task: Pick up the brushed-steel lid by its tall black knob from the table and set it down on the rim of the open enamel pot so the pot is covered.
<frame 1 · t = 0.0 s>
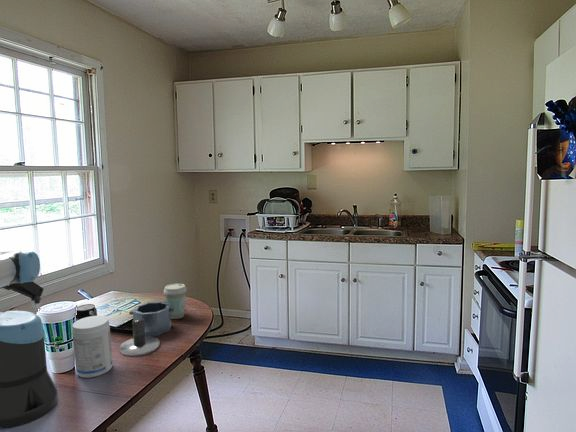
hand: (14, 310, 121), 15 cm above the table, tool tilted 35°, fingers open, 13 cm apart
supplement tub: (95, 371, 115), on the table
beverage can: (88, 342, 134), on the table
pot: (153, 329, 143), on the table
lid: (140, 347, 129), on the table
coffee cup: (176, 316, 155), on the table
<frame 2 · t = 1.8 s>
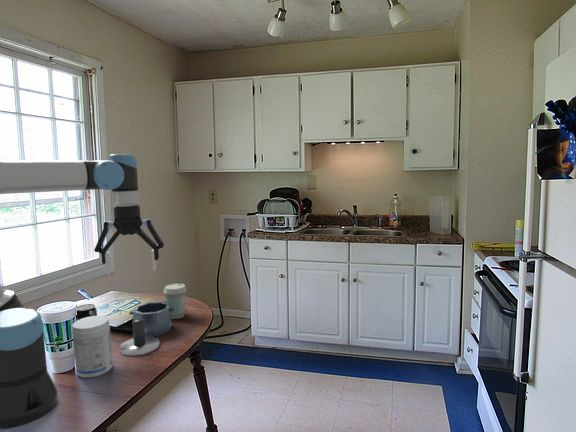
hand: (132, 271, 127), 25 cm above the table, tool pointing down, fingers open, 13 cm apart
nothing on the table moved.
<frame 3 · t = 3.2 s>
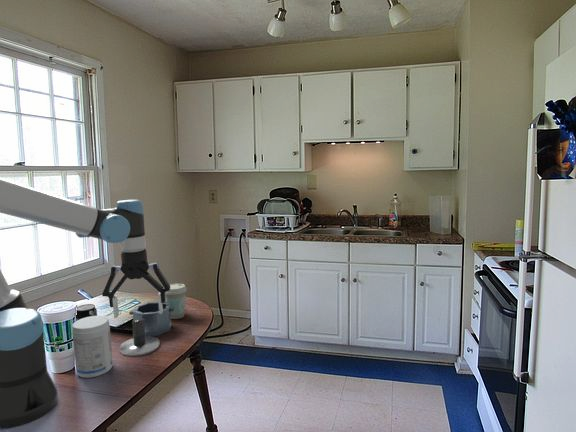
hand: (139, 314, 128), 11 cm above the table, tool pointing down, fingers open, 13 cm apart
nothing on the table moved.
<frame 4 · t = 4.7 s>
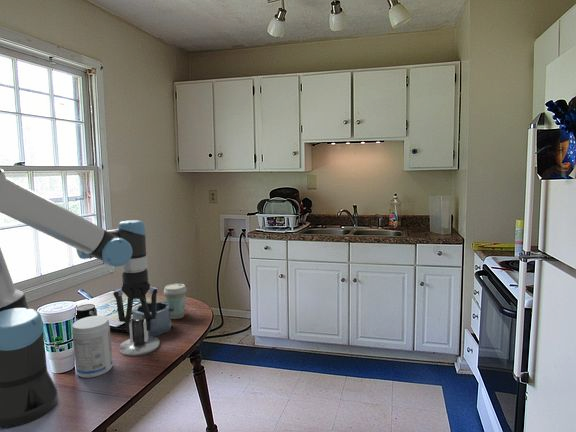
hand: (139, 340, 129), 2 cm above the table, tool pointing down, fingers closed on lid, 4 cm apart
lid: (140, 347, 129), on the table, touching gripper
everything else where it was.
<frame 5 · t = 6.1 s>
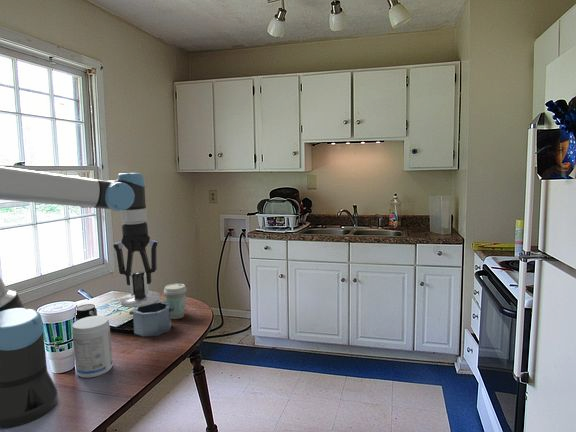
hand: (140, 293, 129), 17 cm above the table, tool pointing down, fingers closed on lid, 4 cm apart
lid: (140, 300, 130), point 15 cm above the table, touching gripper
everything else where it was.
when the fingers open (11 cm above the table, at t = 7.8 s): lid drops 1 cm, resting on pot.
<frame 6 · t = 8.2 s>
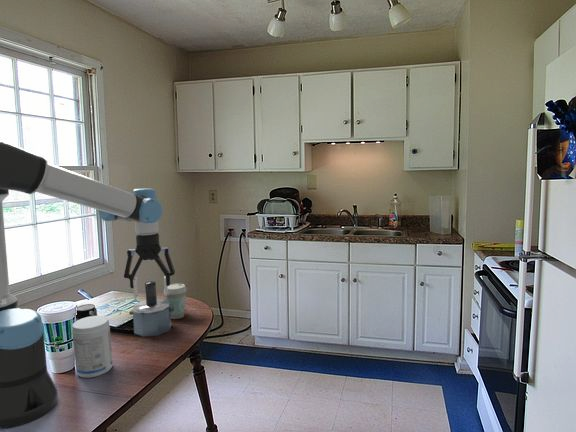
hand: (151, 295, 142), 12 cm above the table, tool pointing down, fingers open, 9 cm apart
lid: (151, 307, 142), point 8 cm above the table, touching pot
everything else where it was.
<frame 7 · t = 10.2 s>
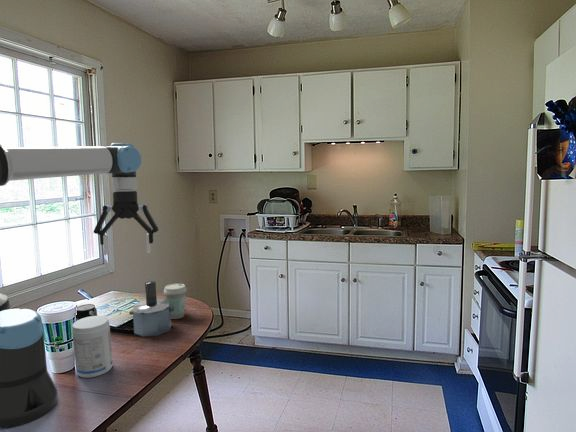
hand: (127, 253, 135), 29 cm above the table, tool pointing down, fingers open, 13 cm apart
nothing on the table moved.
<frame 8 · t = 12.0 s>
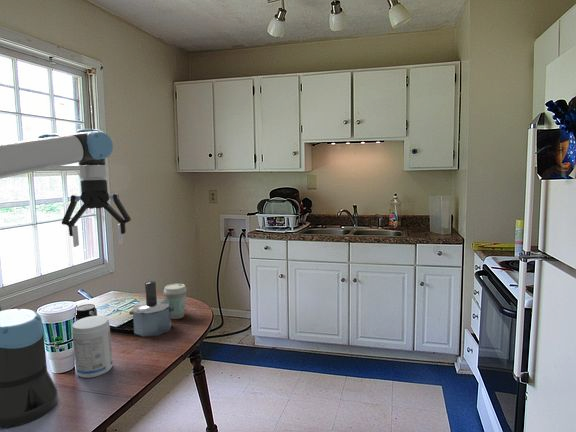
hand: (98, 245, 130), 33 cm above the table, tool pointing down, fingers open, 13 cm apart
nothing on the table moved.
at the end: lid 0.1 cm off-centre on the pot, point 8.0 cm above the pot's base; lid tilted 0°; the gripper is holding nothing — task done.
